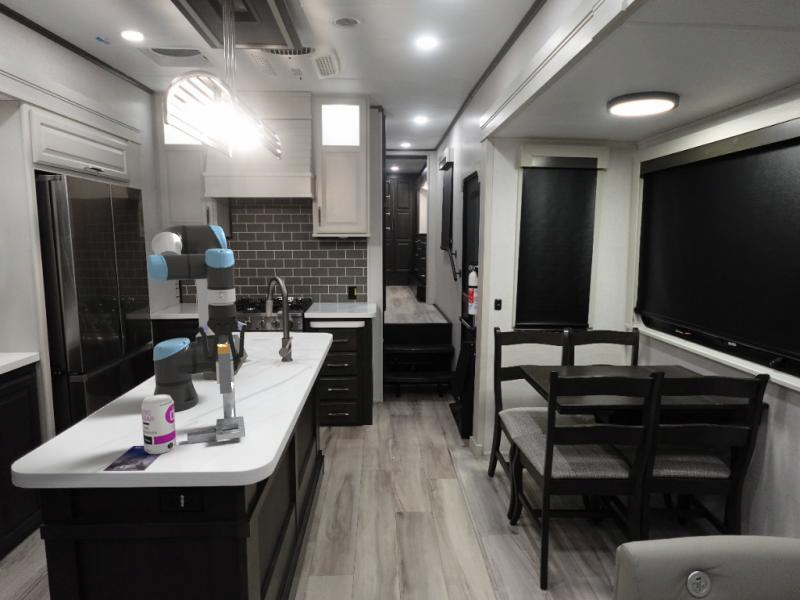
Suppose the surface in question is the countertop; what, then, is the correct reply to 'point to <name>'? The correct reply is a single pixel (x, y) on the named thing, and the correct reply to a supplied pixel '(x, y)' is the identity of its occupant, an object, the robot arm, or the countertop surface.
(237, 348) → the planter
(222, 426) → the grey piece
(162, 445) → the supplement can
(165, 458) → the countertop surface
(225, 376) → the orange-tipped square rod
